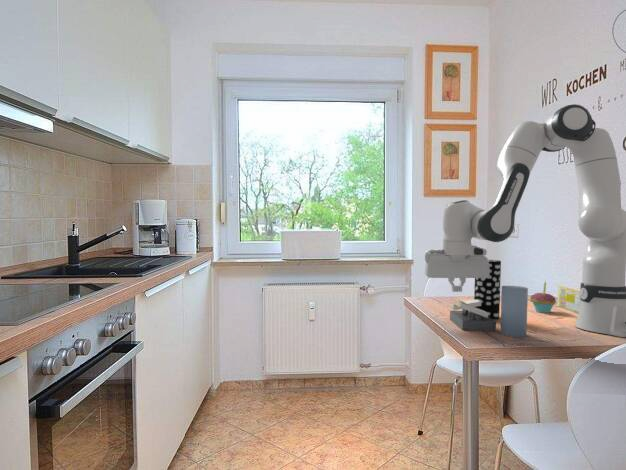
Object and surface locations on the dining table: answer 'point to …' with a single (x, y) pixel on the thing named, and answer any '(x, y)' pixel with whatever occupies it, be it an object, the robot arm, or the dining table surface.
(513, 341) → the dining table surface
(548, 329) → the dining table surface
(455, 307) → the paddle
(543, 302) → the cupcake
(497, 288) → the white-spotted black cylinder
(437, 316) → the dining table surface
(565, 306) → the candy box
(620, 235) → the robot arm
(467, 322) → the panel
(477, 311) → the paddle
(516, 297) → the blue cylinder
